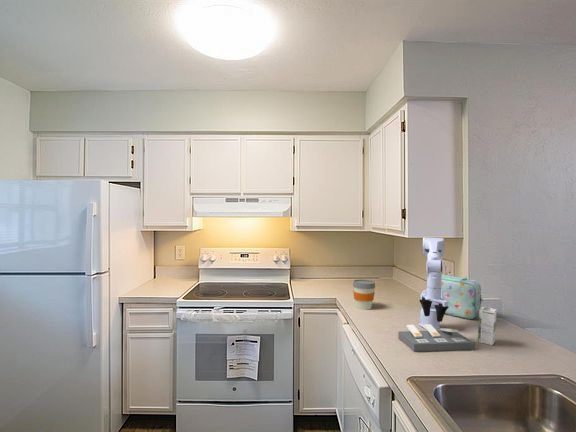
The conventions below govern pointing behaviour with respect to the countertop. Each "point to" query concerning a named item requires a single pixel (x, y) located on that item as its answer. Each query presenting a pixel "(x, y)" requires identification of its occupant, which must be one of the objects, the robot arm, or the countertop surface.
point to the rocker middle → (431, 330)
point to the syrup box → (487, 325)
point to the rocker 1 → (414, 331)
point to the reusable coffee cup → (363, 293)
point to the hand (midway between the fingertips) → (433, 318)
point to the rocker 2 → (449, 330)
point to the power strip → (436, 341)
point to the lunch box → (461, 296)
